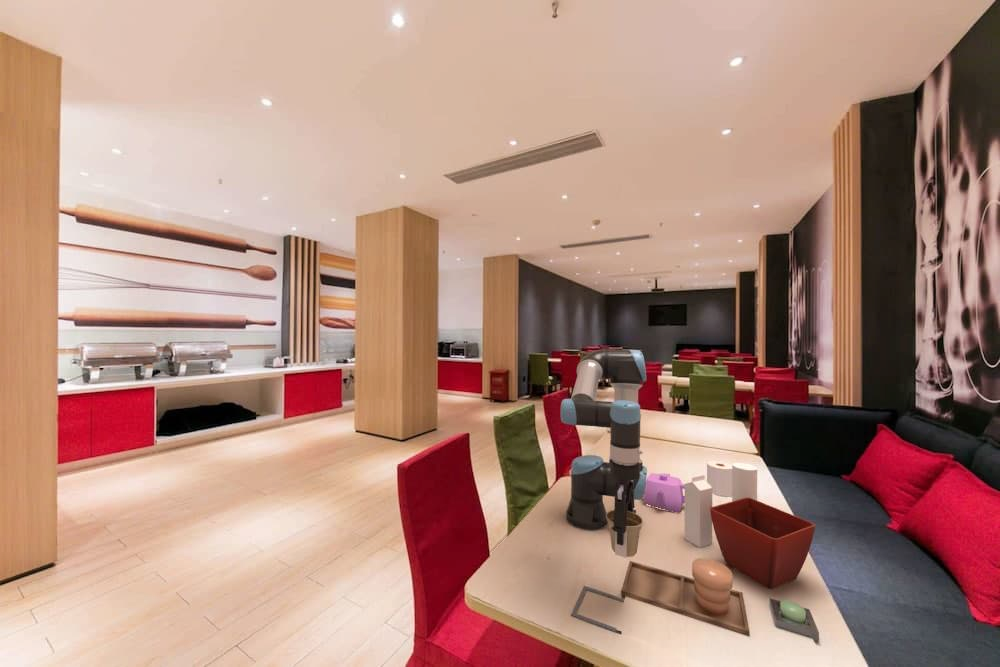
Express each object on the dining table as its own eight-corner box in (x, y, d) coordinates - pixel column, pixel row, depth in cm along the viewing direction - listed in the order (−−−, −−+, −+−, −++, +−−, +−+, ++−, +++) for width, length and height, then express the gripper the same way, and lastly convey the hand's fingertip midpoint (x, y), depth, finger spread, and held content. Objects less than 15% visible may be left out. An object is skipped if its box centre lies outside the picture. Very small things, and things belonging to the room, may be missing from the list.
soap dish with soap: (775, 629, 87) (775, 619, 87) (769, 607, 94) (769, 598, 94) (818, 643, 84) (819, 632, 84) (809, 619, 91) (809, 609, 91)
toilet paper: (710, 495, 161) (710, 467, 161) (704, 485, 171) (704, 459, 171) (736, 498, 158) (737, 470, 158) (729, 488, 168) (729, 462, 168)
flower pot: (623, 565, 90) (624, 529, 91) (597, 545, 99) (598, 513, 99) (651, 556, 95) (651, 522, 95) (624, 538, 103) (624, 507, 103)
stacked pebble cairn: (691, 609, 92) (691, 573, 93) (692, 588, 100) (692, 554, 100) (734, 623, 88) (734, 585, 88) (730, 599, 96) (731, 564, 96)
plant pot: (774, 603, 96) (775, 539, 96) (707, 562, 113) (708, 507, 113) (816, 584, 104) (817, 524, 104) (747, 548, 121) (748, 496, 121)
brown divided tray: (621, 597, 98) (621, 590, 98) (629, 566, 111) (629, 560, 111) (749, 639, 84) (749, 631, 84) (742, 599, 97) (742, 592, 97)
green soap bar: (782, 624, 88) (782, 610, 88) (778, 610, 92) (778, 597, 92) (808, 631, 86) (808, 617, 86) (802, 617, 90) (802, 604, 90)
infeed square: (571, 615, 91) (571, 614, 91) (584, 586, 102) (584, 585, 102) (621, 634, 86) (621, 633, 86) (629, 601, 96) (629, 600, 96)
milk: (712, 544, 123) (713, 478, 123) (699, 548, 121) (700, 481, 121) (696, 534, 129) (697, 471, 129) (683, 538, 126) (684, 474, 126)
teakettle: (696, 511, 146) (696, 480, 146) (658, 516, 142) (659, 484, 142) (666, 493, 163) (667, 465, 163) (632, 497, 159) (633, 468, 159)
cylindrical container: (761, 546, 122) (761, 471, 122) (737, 543, 123) (737, 469, 124) (751, 535, 129) (751, 463, 129) (728, 532, 130) (728, 462, 131)
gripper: (632, 477, 86) (632, 574, 86) (645, 451, 104) (645, 531, 105) (600, 471, 89) (599, 564, 90) (618, 447, 108) (618, 524, 108)
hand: (624, 546), depth 97 cm, fingers closed on flower pot, 8 cm apart
